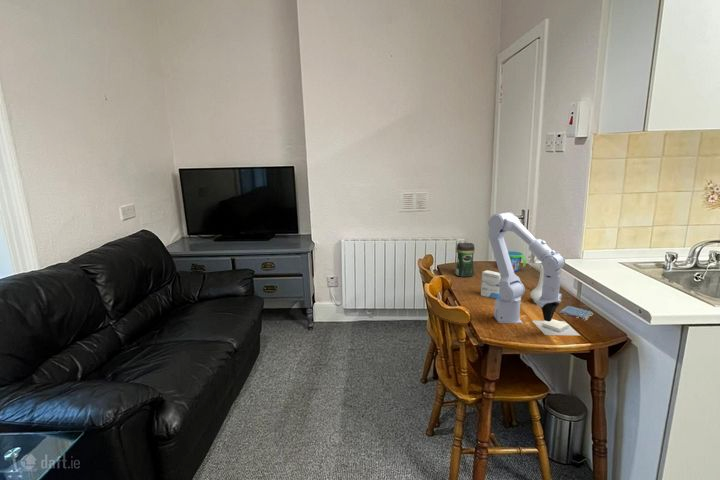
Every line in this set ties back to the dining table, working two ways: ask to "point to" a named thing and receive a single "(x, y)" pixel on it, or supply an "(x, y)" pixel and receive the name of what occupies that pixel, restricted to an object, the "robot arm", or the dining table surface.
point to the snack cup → (516, 259)
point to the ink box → (490, 284)
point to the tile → (555, 325)
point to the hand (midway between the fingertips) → (547, 320)
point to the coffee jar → (465, 259)
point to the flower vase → (537, 291)
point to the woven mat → (577, 312)
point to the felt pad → (552, 332)
